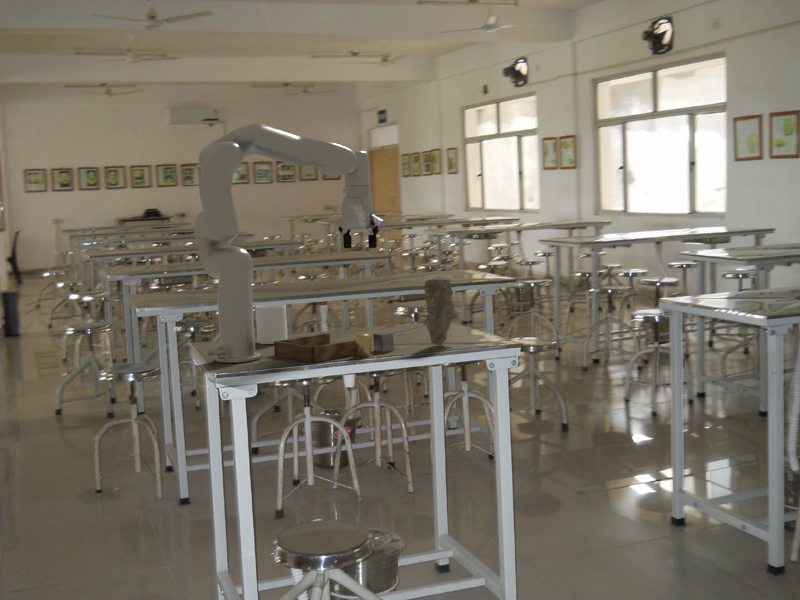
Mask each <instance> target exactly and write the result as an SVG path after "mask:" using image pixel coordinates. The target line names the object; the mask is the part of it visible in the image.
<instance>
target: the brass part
mask: <svg viewBox="0 0 800 600" xmlns="http://www.w3.org/2000/svg"><path fill="white" fill-rule="evenodd" d="M355 340H356V352H357V354H356V357H357V358H368V357H372V349H371V346H372V345H371V333H357V334H355Z"/></svg>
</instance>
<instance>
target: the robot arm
mask: <svg viewBox="0 0 800 600" xmlns="http://www.w3.org/2000/svg"><path fill="white" fill-rule="evenodd" d="M252 155H257V156H262V157H264V158H267V159H268V158H269V159H272V160H276V161H279V162H281V163H285V164H288V165H293V166H315V167H317V169H318V171H319V172H320V173H321V174H323V175H325V176H329V177H333V176H335V177H336V176H342V175H343V176H344V189H342V192H343V194H345V196H343V197H342V204H341V218H339V219H338V220H337V221H335V224H336V225H337V229H338V231H339V232H340V234H341V236H342V239H343V240H342V241H343V248H344V249H352V246H353V245H352V244H353V243H352V235H351V232H352V231H353V230H363V229H364V230H366V231H367V232H368V233H369V234H368V235H367V237H368V238H367V240H368V241H367V242H368V243H367V244H368V248H369V249H376V248H377V244H378V243H377V242H378V241H377V240H378V239H377V235H378V234H379V232H380V230H381V229H382V225H383V221H384V220H383V219H381V218H380V217H378V216H377V215H376V214H375V212H376V211H375V206H374V205H375V204H374V200H373V197H372V196H371V189H370V188H371V187H370V185H371V184H370V167H369V163H370V162H369V154H368V152H367V151H365V150H351V149H350V148H348V147H346V146H343V145H341V144H337V143H334V142H331V141H326V140H320V139H316V138H312V137H307V136H304V135H303V136H302V135H297V134H294V133H290V132H287V131H284V130H282V129H279V128H276V127H272V126H270V125H266V124H263V123H260V122H259V123H257V122H255V123H250V124H245V125H242V126H239V127H237V128H235V129H233V130H232V131H230V132H229V133H227V134H225V135H224V136H222V137H220V138H218V139H216V140H214V141H213V142H210V143H208V144H207V145H205V146H204V147H203V148H202V149H201V150H200V152H199V155H198V163H199V166H200V169H202V170H201V173H200V175H199V178H198V179H199V180H198V192H199V193H198V194H199V197H200V202H201V208H202V210H201V211H200V212H199V213H198V214H197V215H196V217H195V218H194V221H193V233H194V238H195V241H196V246H197V249H198V250H197V251H198V253H199V257H200V261H201V264H202V266H203V269H204V271H205V272H206V274H207V275H208V276H209V277H211V278H212V279H214V280H215V279H216V280H218V283H217V284H218V285H217V292H216V295H217V300H216V301H217V312H218V327H219V328H218V329H219V344H216V346H214V348H209V349H205V350H204V353H203V354H204V356H205V357H206V358H207V357H213V356H214V357H215V362H218V363H223V364H224V363H226V364H227V363H232V364H235V363H245V362H252V361H256V360H259V359H261V358H262V352H261V351H260V352H258V351H256V340H255V324H254V323H255V322H254V321H255V320H254V307H253V305H254V304H253V277H254V262H253V258H252V256H251V254H250V253H249V252H248V251H247V250H246V249H244V248H242V247H239V246H235V245H232V246H231V243H230V242H232V241H234V240H235V239H237V237H238V236H239V234H240V229H241V227H240V222H239V217H238V214H237V209H236V206H235V202H234V197H233V193H232V181H233V178H234V175H235V173H236V172H237V171H238V169H240V167H241V166H242V164H243V161H244V159H246V158H247V157H249V156H252Z"/></svg>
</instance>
